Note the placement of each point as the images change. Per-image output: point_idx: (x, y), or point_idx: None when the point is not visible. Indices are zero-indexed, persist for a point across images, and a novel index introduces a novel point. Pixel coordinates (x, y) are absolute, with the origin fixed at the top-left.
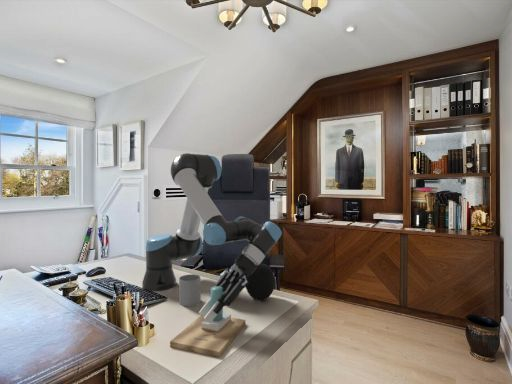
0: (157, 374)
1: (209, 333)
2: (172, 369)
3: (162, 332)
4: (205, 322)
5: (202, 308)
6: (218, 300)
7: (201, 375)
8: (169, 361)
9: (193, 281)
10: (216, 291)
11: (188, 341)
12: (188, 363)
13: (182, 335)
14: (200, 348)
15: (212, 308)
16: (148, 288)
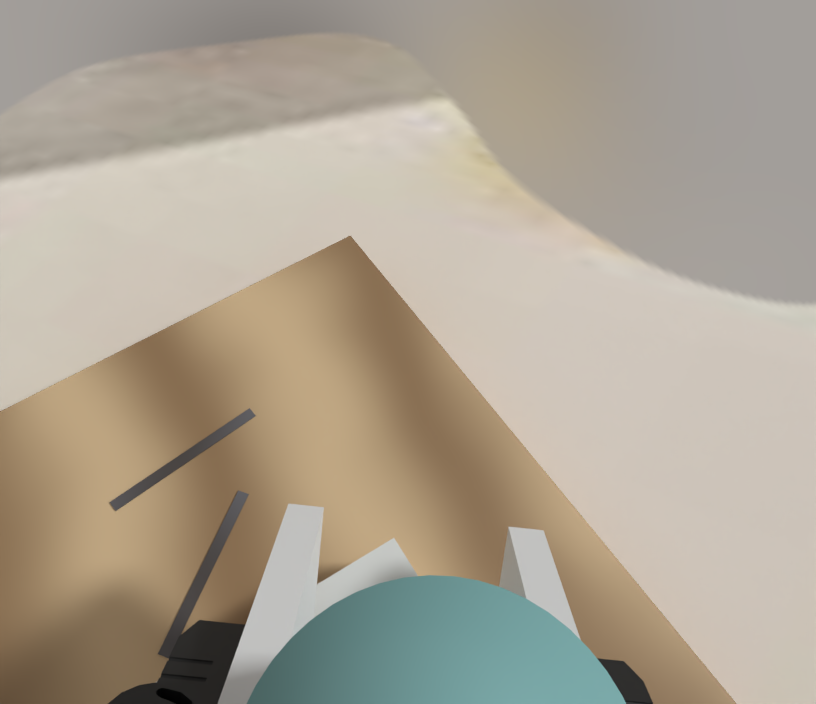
0: (79, 106)
1: (232, 594)
2: (49, 181)
3: (621, 293)
4: (368, 585)
5: (535, 568)
6: (143, 689)
7: None
8: (156, 197)
9: None
10: (261, 679)
11: (239, 348)
12: (19, 281)
13: (381, 347)
14: (52, 390)
15: (258, 606)
16: None
